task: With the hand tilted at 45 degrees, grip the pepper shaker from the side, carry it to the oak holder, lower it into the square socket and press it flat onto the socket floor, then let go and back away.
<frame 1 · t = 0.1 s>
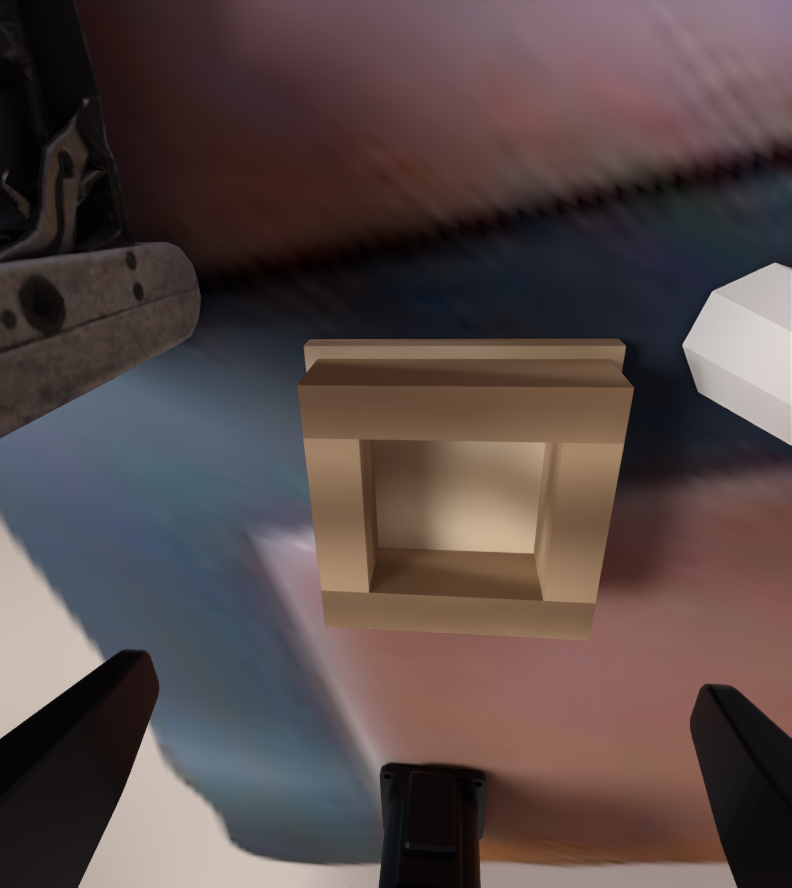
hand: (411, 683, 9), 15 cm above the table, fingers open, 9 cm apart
socket holder: (456, 472, 24), on the table
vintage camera: (43, 117, 19), on the table
pepper shaker: (755, 336, 20), on the table
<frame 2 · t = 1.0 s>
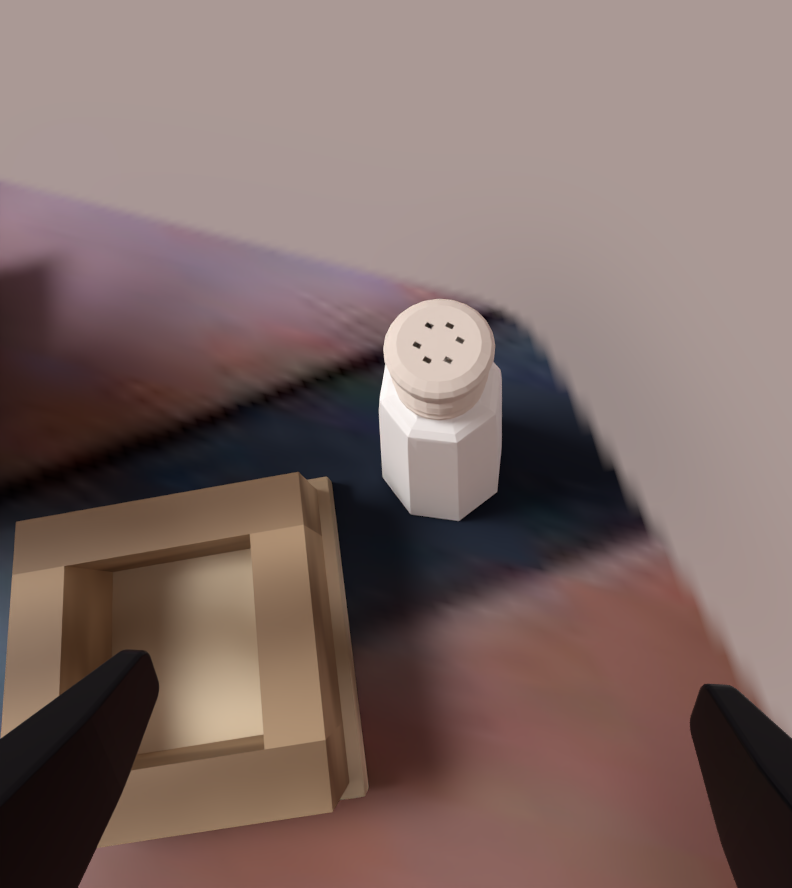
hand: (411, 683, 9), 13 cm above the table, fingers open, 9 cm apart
socket holder: (207, 645, 22), on the table
pepper shaker: (442, 463, 24), on the table
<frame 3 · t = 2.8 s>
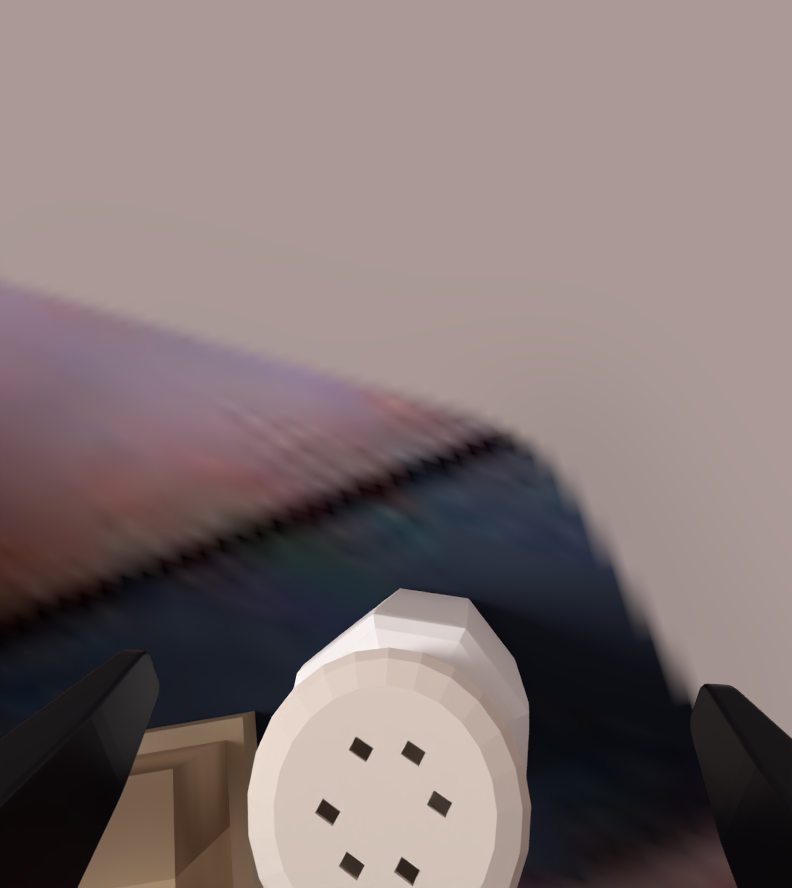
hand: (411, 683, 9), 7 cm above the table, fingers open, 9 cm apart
pepper shaker: (423, 681, 16), on the table
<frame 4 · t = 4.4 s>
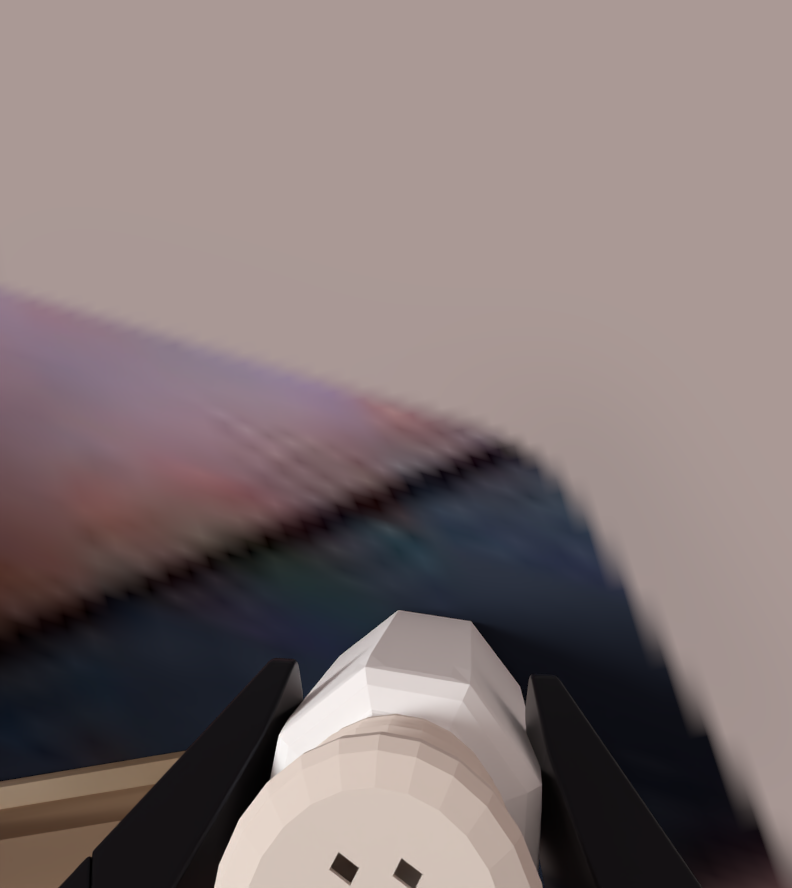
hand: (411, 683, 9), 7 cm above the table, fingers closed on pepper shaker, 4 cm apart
pepper shaker: (423, 709, 15), on the table, touching gripper
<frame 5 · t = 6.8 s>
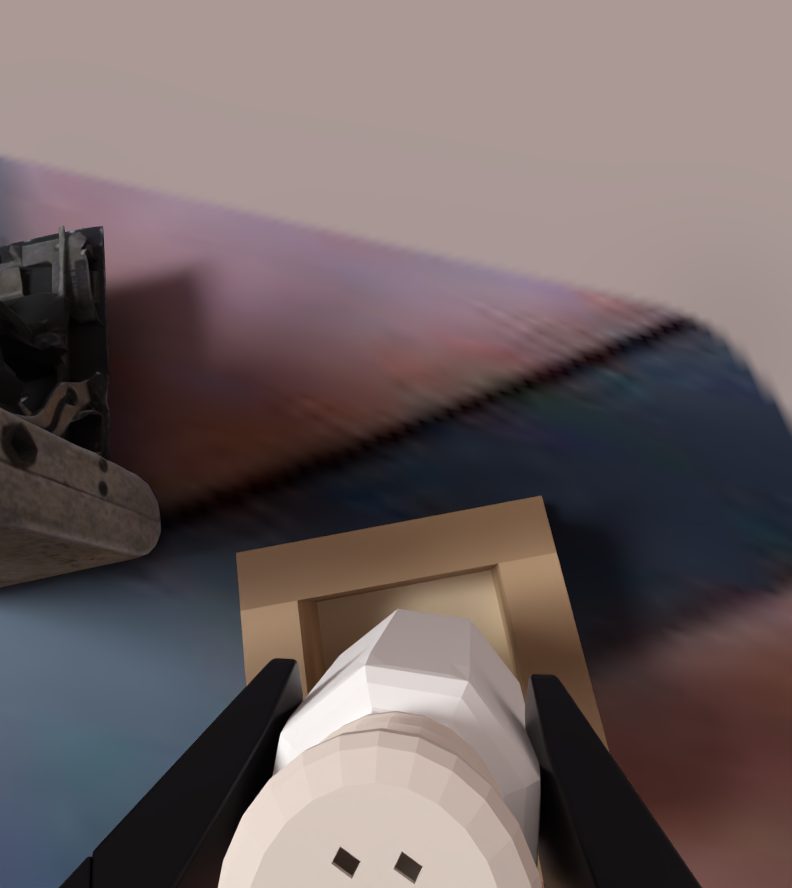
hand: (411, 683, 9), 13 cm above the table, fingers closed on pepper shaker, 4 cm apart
socket holder: (420, 677, 21), on the table
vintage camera: (64, 423, 26), on the table
pepper shaker: (423, 707, 15), point 6 cm above the table, touching gripper
when the fingers open (8 cm above the table, at t = 9.3 s): pepper shaker stays where it is, resting on socket holder.
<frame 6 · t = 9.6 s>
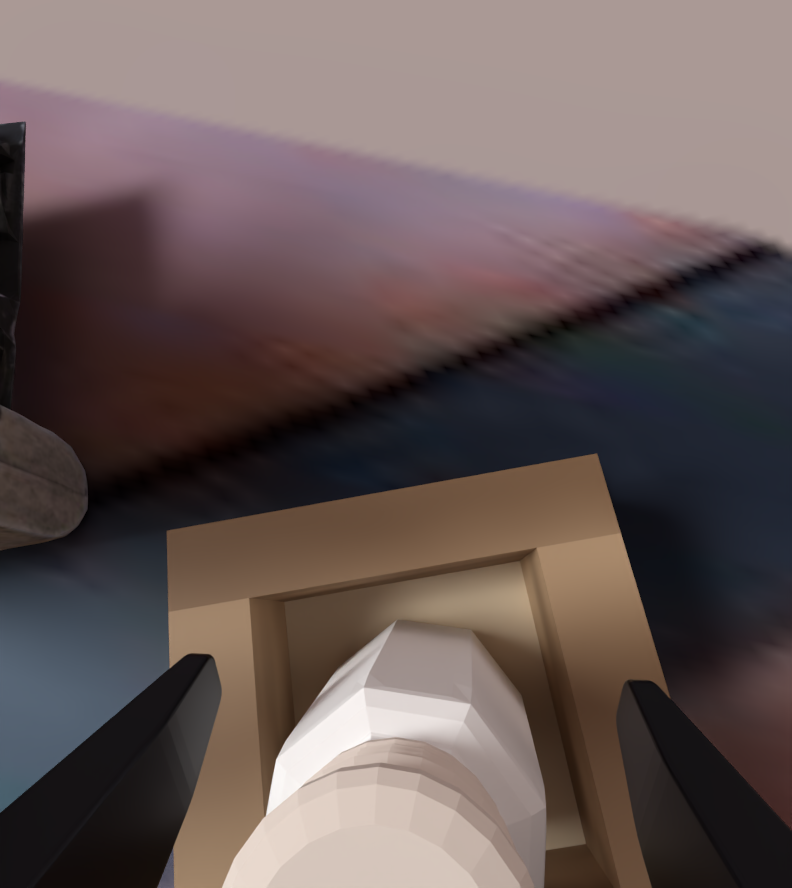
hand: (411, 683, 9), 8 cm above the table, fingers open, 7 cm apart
socket holder: (423, 706, 15), on the table
pepper shaker: (424, 720, 15), point 1 cm above the table, touching socket holder
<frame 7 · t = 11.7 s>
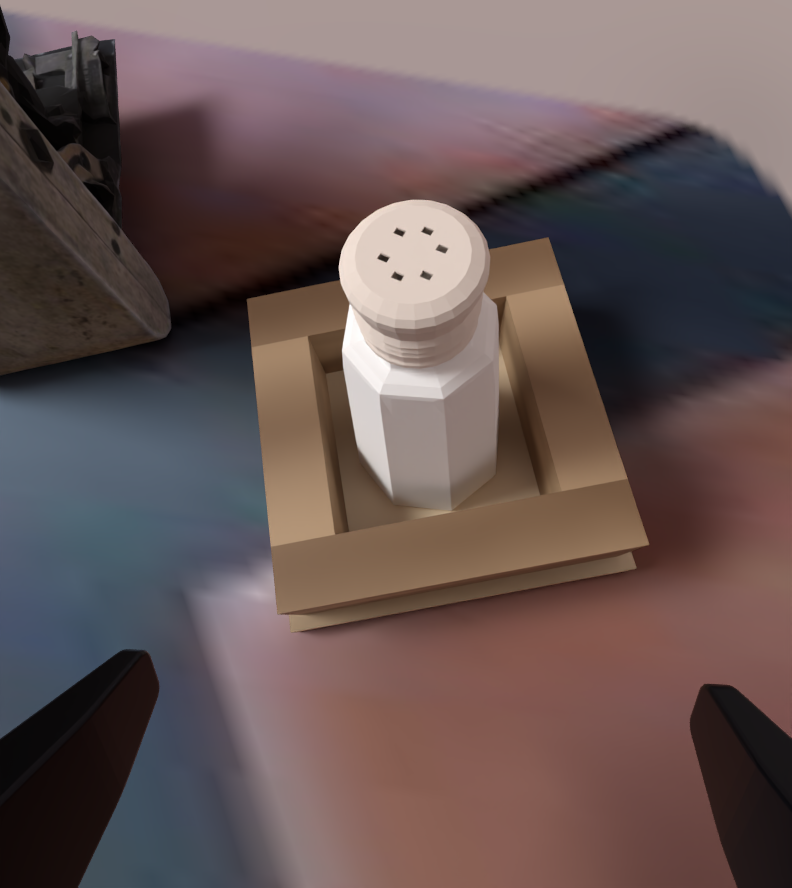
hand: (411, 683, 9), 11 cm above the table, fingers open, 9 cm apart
socket holder: (429, 446, 21), on the table
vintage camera: (75, 240, 26), on the table
pepper shaker: (429, 444, 20), point 1 cm above the table, touching socket holder
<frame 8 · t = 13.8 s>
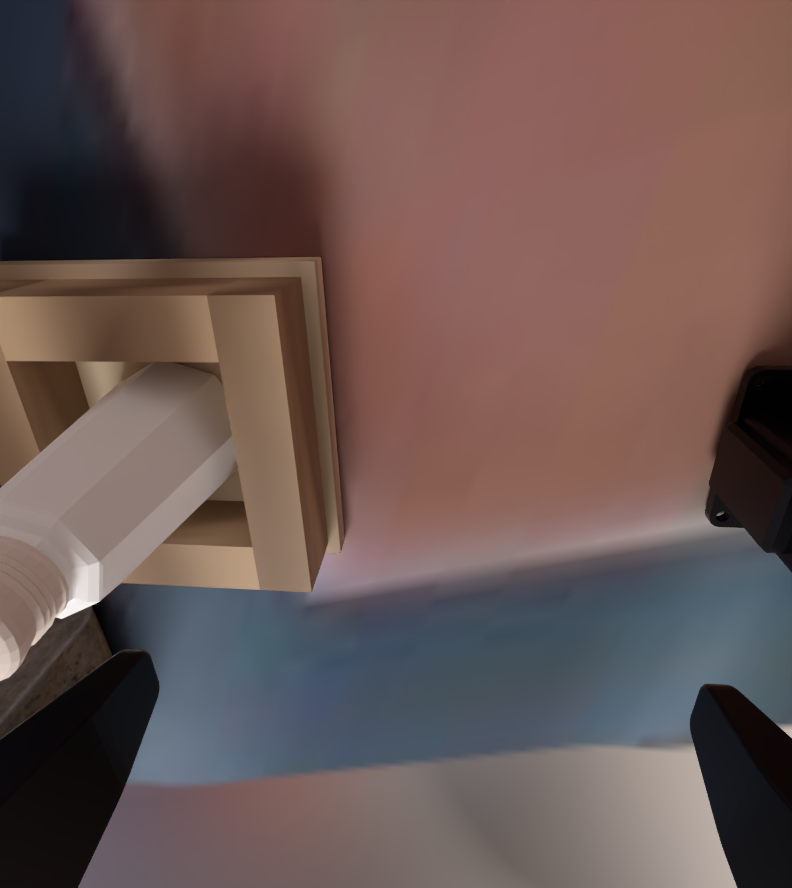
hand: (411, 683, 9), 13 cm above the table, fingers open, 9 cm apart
socket holder: (189, 413, 22), on the table
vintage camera: (6, 652, 30), on the table
pepper shaker: (185, 421, 21), point 1 cm above the table, touching socket holder
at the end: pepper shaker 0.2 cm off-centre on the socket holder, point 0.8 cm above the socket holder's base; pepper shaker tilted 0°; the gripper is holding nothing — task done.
